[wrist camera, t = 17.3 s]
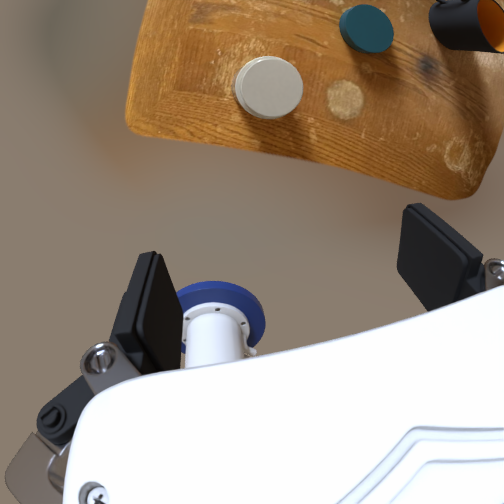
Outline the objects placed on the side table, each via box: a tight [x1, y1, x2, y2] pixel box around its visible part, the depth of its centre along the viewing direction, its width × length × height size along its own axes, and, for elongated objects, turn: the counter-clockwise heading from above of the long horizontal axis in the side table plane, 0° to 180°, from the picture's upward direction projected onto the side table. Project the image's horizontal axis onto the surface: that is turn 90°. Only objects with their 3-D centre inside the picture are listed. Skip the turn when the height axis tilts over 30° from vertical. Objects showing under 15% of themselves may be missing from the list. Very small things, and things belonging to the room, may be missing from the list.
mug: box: [429, 0, 504, 54], centre depth 22 cm, size 8×12×10 cm
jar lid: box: [339, 5, 394, 54], centre depth 28 cm, size 7×7×2 cm
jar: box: [231, 56, 303, 119], centre depth 28 cm, size 6×6×10 cm
